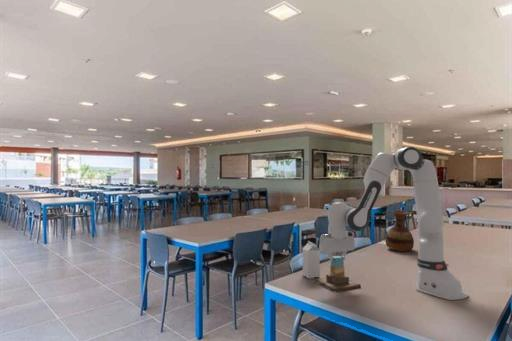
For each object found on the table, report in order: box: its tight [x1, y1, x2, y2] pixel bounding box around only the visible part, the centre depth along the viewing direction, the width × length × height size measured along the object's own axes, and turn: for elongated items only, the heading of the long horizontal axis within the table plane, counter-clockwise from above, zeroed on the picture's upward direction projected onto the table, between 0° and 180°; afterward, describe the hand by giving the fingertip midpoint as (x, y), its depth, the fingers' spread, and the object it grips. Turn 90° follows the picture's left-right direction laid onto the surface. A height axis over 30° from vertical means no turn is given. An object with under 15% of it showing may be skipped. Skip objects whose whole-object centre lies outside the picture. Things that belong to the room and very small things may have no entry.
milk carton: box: [302, 240, 321, 279], centre depth 176 cm, size 7×7×19 cm
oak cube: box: [329, 264, 346, 278], centre depth 162 cm, size 5×5×5 cm
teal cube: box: [330, 255, 345, 268], centre depth 163 cm, size 4×4×4 cm
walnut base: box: [315, 273, 361, 292], centre depth 162 cm, size 16×16×4 cm
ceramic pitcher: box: [385, 210, 415, 252], centre depth 242 cm, size 20×20×30 cm
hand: (337, 260), depth 163 cm, fingers open, 5 cm apart
